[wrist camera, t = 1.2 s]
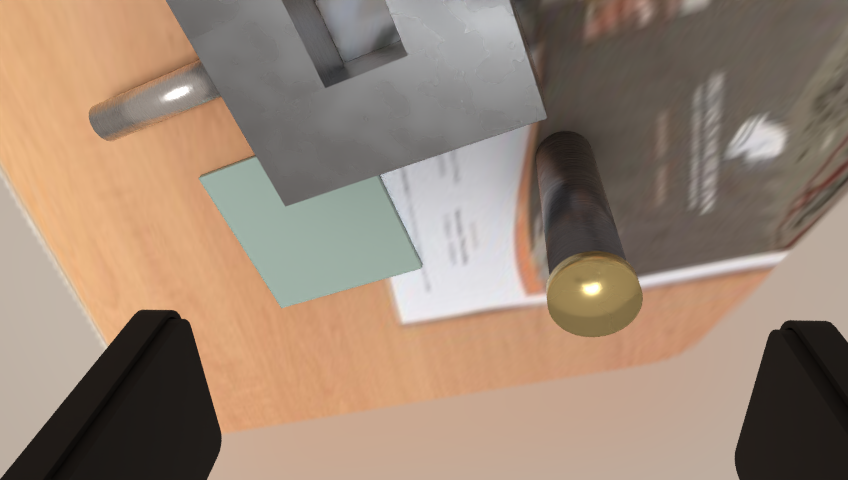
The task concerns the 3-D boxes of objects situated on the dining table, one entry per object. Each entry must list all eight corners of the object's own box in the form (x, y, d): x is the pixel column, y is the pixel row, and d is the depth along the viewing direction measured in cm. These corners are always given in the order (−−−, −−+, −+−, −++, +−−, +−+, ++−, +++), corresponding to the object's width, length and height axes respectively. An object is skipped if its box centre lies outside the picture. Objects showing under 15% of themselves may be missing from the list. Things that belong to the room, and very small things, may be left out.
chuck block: (442, -223, 26) (433, -234, 22) (542, 90, 32) (547, 118, 29) (41, -14, 32) (-14, 2, 28) (192, 213, 38) (162, 248, 35)
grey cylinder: (586, 119, 32) (630, 252, 22) (603, 174, 34) (651, 324, 23) (524, 140, 33) (535, 277, 23) (542, 193, 35) (561, 345, 24)
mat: (352, 119, 34) (350, 122, 33) (422, 264, 38) (421, 268, 38) (201, 175, 37) (198, 178, 36) (283, 304, 41) (281, 308, 41)
